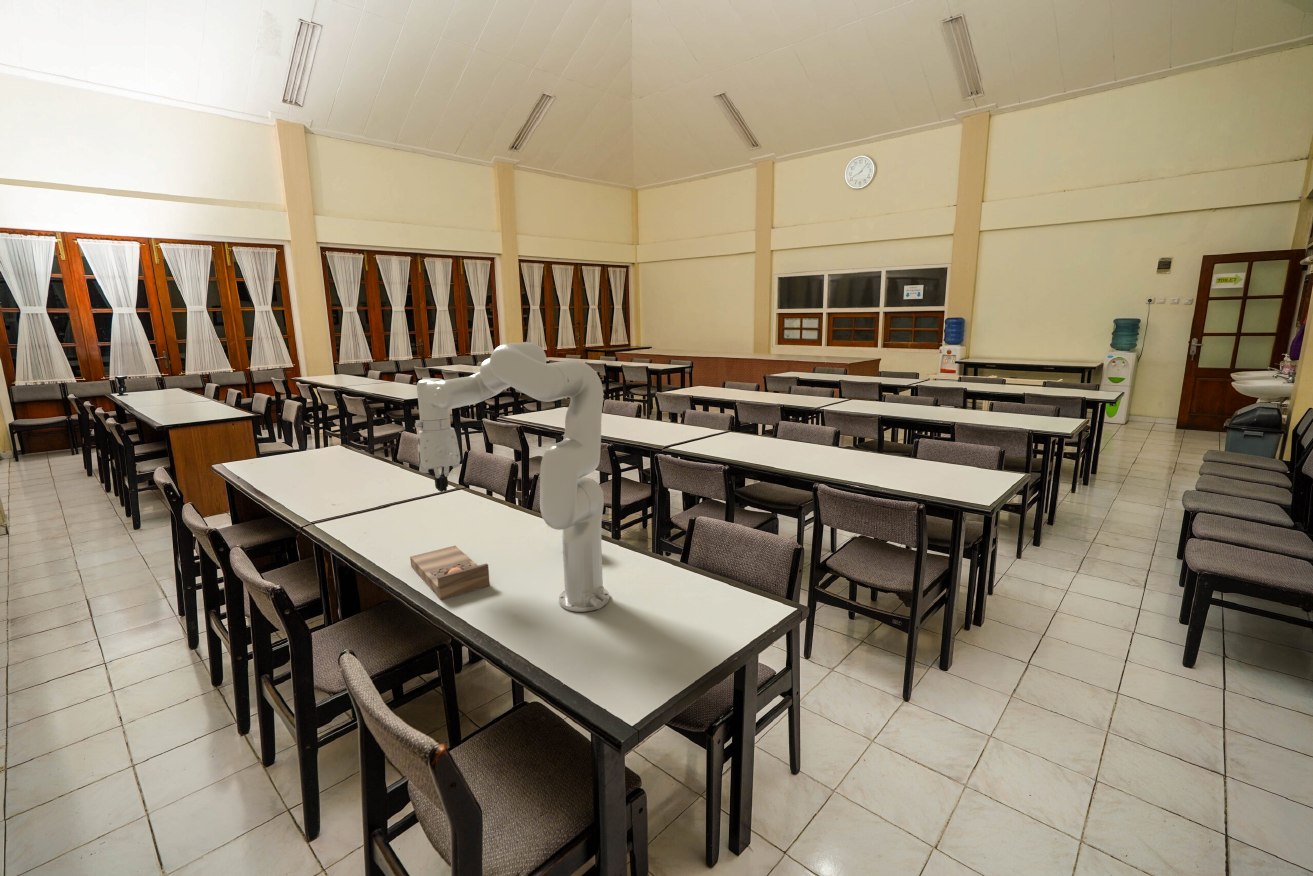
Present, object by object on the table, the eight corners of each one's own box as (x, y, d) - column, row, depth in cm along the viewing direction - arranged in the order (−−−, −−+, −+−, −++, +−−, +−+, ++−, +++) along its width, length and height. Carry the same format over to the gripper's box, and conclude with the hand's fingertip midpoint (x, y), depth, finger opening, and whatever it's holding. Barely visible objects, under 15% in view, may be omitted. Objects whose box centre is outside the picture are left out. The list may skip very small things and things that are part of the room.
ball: (468, 567, 161) (459, 569, 164) (453, 565, 158) (444, 567, 160) (466, 584, 159) (457, 586, 162) (451, 582, 156) (442, 584, 159)
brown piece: (489, 585, 159) (488, 564, 158) (440, 600, 151) (438, 578, 150) (456, 555, 179) (454, 536, 178) (411, 566, 171) (409, 546, 170)
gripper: (411, 430, 153) (418, 499, 156) (468, 423, 162) (473, 488, 165) (402, 426, 159) (410, 492, 162) (458, 419, 168) (463, 482, 171)
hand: (442, 490), depth 164 cm, fingers closed
